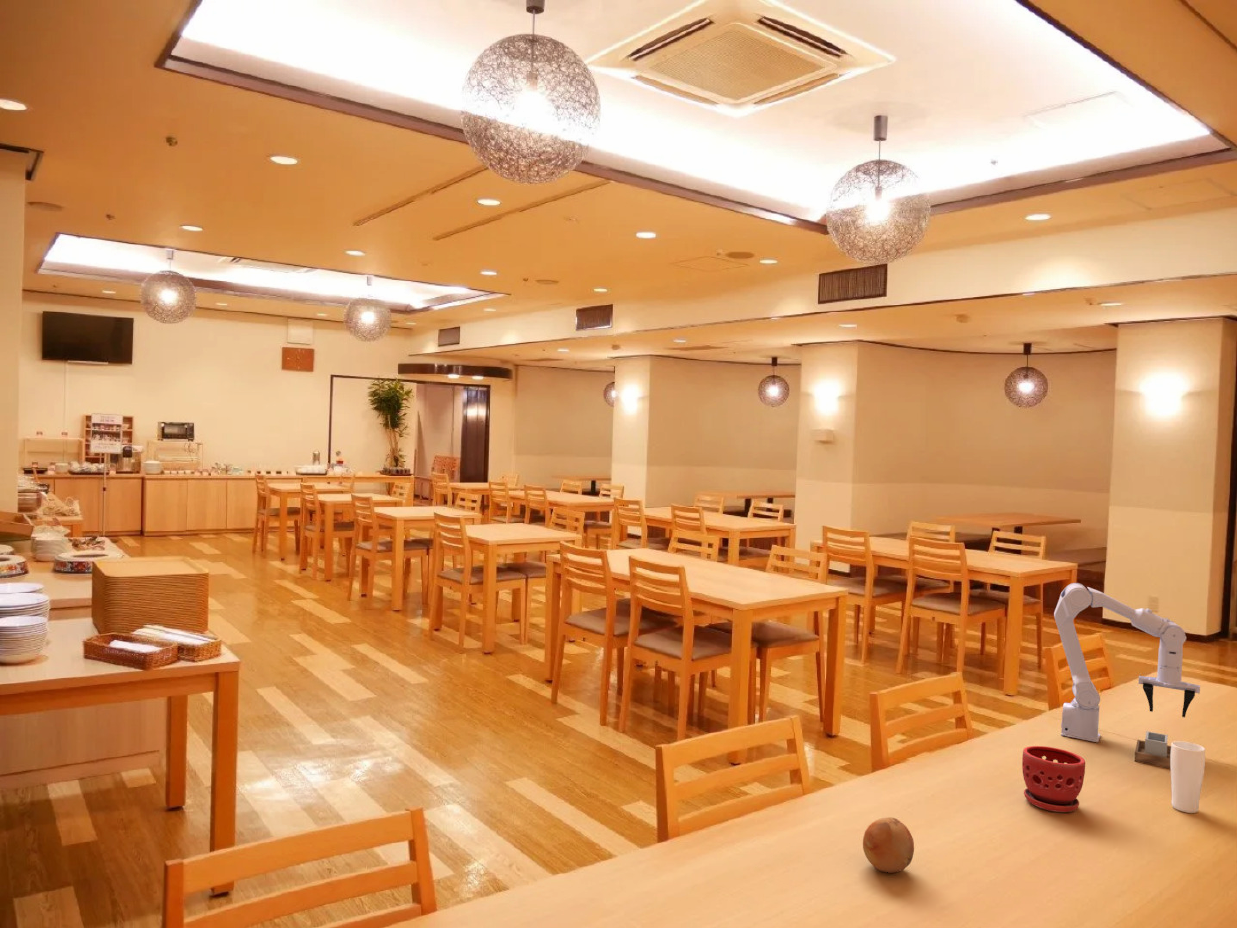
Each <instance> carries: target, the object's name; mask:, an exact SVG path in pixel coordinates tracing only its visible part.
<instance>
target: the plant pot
mask: <svg viewBox="0 0 1237 928" xmlns="http://www.w3.org/2000/svg"><path fill="white" fill-rule="evenodd" d="M1043 757H1045V759H1043ZM1055 761H1057V762H1055ZM1021 763H1022V766H1021V767H1022V768H1021V769H1022V777H1023V781H1024V783H1025V786H1026V789H1024V791H1023V795H1024V797H1025V799H1026V800H1027V801H1028V802H1029V803H1030V804H1032V805H1034V806H1035V807H1037V808H1040V809H1043V810H1046V811H1049V812H1050V813H1054V812H1055V813H1056V812H1057V813H1068V812H1072V811H1073V812H1074V811H1075V810H1076V809H1078V808H1079V806H1080V801H1079V799H1078V798H1077V797H1079V795H1080V793H1081V792H1082V788H1083V785H1084V779H1085V774H1086V761H1085V758H1083V757H1082V756H1081V755H1079V754H1076V753H1075V752H1073V751H1068V750H1065V749H1061V748H1056V747H1051V746H1042V745H1032V746H1026V747H1025V748H1023V750H1022V762H1021Z"/></svg>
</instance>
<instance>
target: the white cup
mask: <svg viewBox="0 0 1237 928" xmlns="http://www.w3.org/2000/svg"><path fill="white" fill-rule="evenodd" d="M1170 746H1171V752H1170V768H1171V769H1170V768H1169V769H1170V785H1171V786H1170V787H1171V788H1170V789H1171V790H1170V791H1171V802H1170V803H1171V804H1170V805H1171V806H1172V808H1173V809H1175V810H1177V811H1179V812H1183V813H1187V814H1195V813H1197V812H1198V811H1199V809H1200V798H1201V791H1202V787H1203V779H1204V773H1205V768H1206V767H1205V765H1206V748H1205V747H1203V746H1202V745H1201V744H1197V743H1194V742H1190V741H1183V740H1176V741H1172V742H1171V744H1170Z"/></svg>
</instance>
